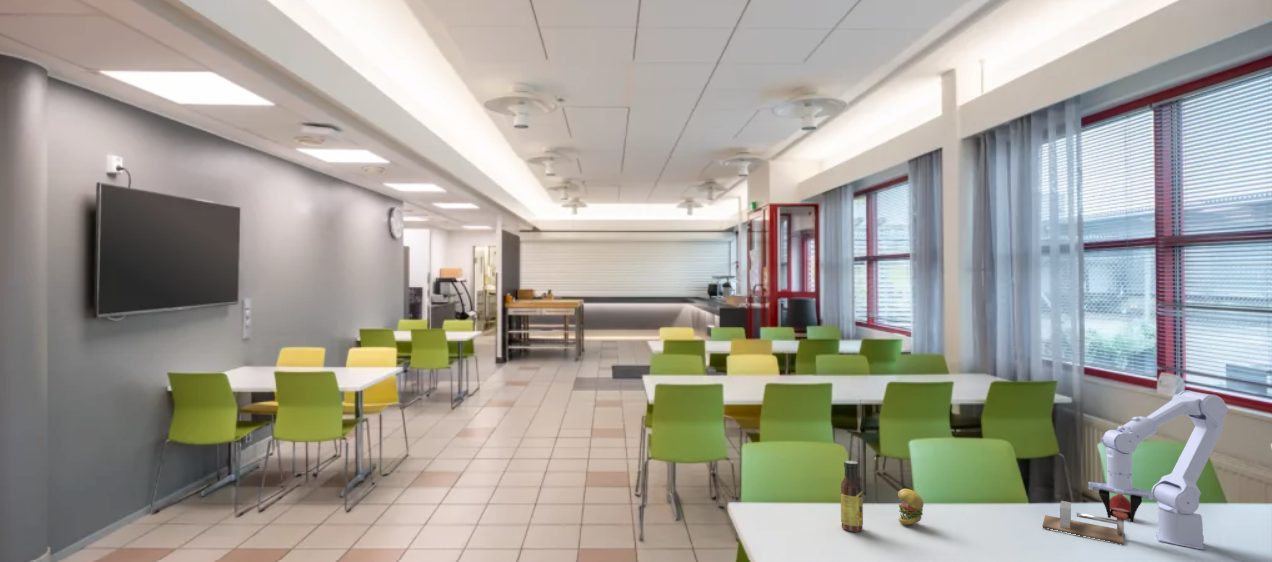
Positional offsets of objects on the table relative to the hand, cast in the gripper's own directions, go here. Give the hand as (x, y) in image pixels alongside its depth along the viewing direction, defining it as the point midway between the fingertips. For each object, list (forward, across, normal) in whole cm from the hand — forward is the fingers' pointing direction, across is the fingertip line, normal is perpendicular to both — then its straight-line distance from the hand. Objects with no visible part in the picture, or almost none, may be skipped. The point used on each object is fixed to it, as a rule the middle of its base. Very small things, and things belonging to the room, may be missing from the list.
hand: (1120, 519), depth 171 cm
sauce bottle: (+6, -64, -44) cm, 77 cm away
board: (+6, -9, 0) cm, 11 cm away
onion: (+6, 0, +22) cm, 23 cm away
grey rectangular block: (+6, -13, 0) cm, 14 cm away
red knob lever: (+4, -4, 0) cm, 6 cm away
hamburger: (+6, -50, -29) cm, 59 cm away
